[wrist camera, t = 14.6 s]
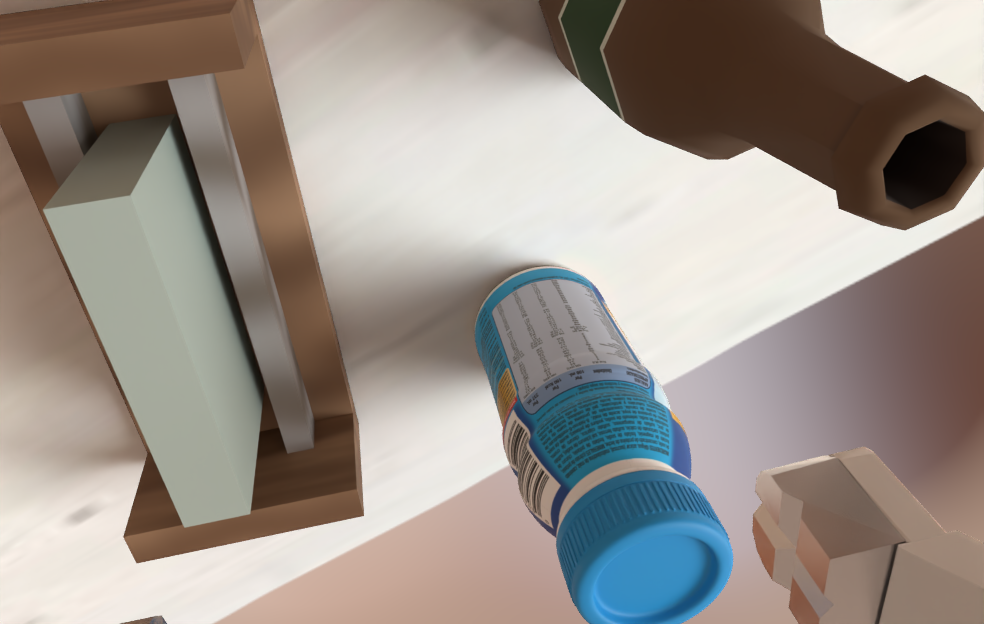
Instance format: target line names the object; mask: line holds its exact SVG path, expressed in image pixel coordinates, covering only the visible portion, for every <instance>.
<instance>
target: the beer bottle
mask: <svg viewBox="0 0 984 624" xmlns="http://www.w3.org/2000/svg"><path fill="white" fill-rule="evenodd" d="M539 4H540V7H541V9H542V12H543V15H544V18H545V21H546V24H547V27H548V30H549V33H550V35H551V38H552V41H553V44H554V47H555V50H556V53H557V56H558V58H559V59H560V61H561V62H562V63H563V65H564V66H565V67H566V68H567V69H568V70H569V71H570V72H571V73H572V74H573V75H574V76H575V77H576V78H578V79H579V80H580V81H581V82H582V83H583V84H584V85H585V86H586V87H587V88H588V89H590V90H591V91H592V92H593V93H594V94H595V95H596V96H597V97H598V98H599V99H600V100H601V101H603V102H604V103H605V104H606V105H607V106H608V107H609V108H610V109H611V110H612V111H613V112H614V113H616V114H617V115H618V116H619V117H620V118H621V119H622V120H623V121H624V122H625V123H627V124H628V125H630V126H631V127H633V128H635V129H636V130H638V131H639V132H641V133H642V134H644V135H646V136H649V137H652V138H654V139H657V140H659V141H662V142H664V143H667V144H669V145H672V146H675V147H677V148H680V149H682V150H685V151H687V152H690V153H692V154H695V155H698V156H700V157H703V158H705V159H730V158H732V157H734V156H737V155H739V154H741V153H743V152H745V151H748V150H750V149H752V148H754V147H757V148H759V149H761V150H763V151H764V152H766V153H768V154H770V155H772V156H774V157H775V158H777V159H779V160H781V161H783V162H785V163H786V164H788V165H790V166H792V167H794V168H796V169H797V170H799V171H801V172H803V173H805V174H806V175H808V176H810V177H812V178H814V179H816V180H817V181H819V182H821V183H823V184H825V185H827V186H828V187H830V188H832V189H834V190H836V194H837V200H838V207H839V209H842V210H844V211H847V212H849V213H852V214H854V215H857V216H859V217H862V218H865V219H867V220H870V221H872V222H875V223H877V224H880V225H883V226H888V227H892V228H897V229H901V230H907V229H909V228H912V227H914V226H916V225H919V224H921V223H923V222H925V221H928V220H930V219H932V218H934V217H937V216H939V215H941V214H944V213H946V212H948V211H950V210H953V209H954V208H955V207H956V205H957V204H958V202H959V201H960V200H961V198H962V197H963V195H964V194H965V193H966V191H967V190H968V188H969V187H970V186H971V184H972V183H973V181H974V180H975V179H976V177H977V176H978V174H979V173H980V172H981V170H982V169H983V167H984V112H983V111H982V110H981V109H980V108H979V107H978V105H977V104H976V103H975V102H974V101H973V100H972V99H971V98H970V97H969V96H967V95H965V94H963V93H961V92H959V91H957V90H955V89H953V88H951V87H949V86H947V85H945V84H943V83H941V82H939V81H937V80H935V79H933V78H931V77H929V76H927V75H923V76H921V77H919V78H916V79H914V80H912V81H910V82H907V81H905V80H903V79H901V78H899V77H897V76H895V75H893V74H892V73H890V72H888V71H886V70H884V69H882V68H880V67H878V66H876V65H874V64H872V63H870V62H869V61H867V60H865V59H863V58H861V57H859V56H857V55H855V54H853V53H851V52H849V51H847V50H845V49H844V48H842V47H840V46H839V45H838V44H836V43H835V42H834V41H833V40H832V39H831V38H829V37H828V36H827V35H826V34H825V30H824V24H823V17H822V10H821V3H820V0H539Z"/></svg>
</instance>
